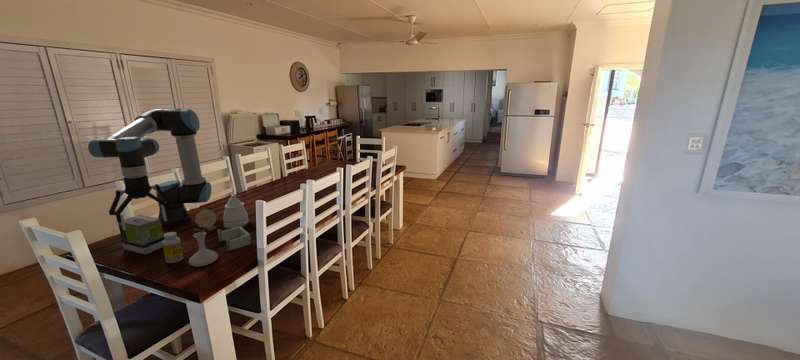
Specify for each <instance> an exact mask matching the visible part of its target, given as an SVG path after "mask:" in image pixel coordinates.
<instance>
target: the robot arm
mask: <svg viewBox="0 0 800 360" xmlns="http://www.w3.org/2000/svg"><path fill="white" fill-rule="evenodd" d="M199 130H200V119H199V117H198V115H197V114H196V112H195V111H194V110H192V109H190V108H189V109H188V108H156V109H151V110H148V111H146V112H143V113H141V114H139V115H137V116H136V117H135V118H134V121H132V122H131V123H129V124H127V125H126V126H124V127H122V128H120V129H119V130H117V131H115V132H114V133H112V134H111V135H109V136H107V137H105V138H102V139H101V138H97V139H91V140H90V141H89V142H88V145H87V149H88V151H89V154H90V155H91V156H92V157H94V158H104V159H106V158H109V159H110V158H118V159H119V164H120V169H121V173H122V174H121V175H122V176H123V177H124V178H123V182H124V186H125V187H124V188H125V189H121V190H120V189H116V190H115V197H114V198H113V201H112V203H111V206H110V208H109V210H108V213H109V215H110V216H115V219H116V222H117V224H118V223H122V227H123V230H126V227H125V223H124V216H123V213H122V212H123V211H125V209H126V207H127V206H128V205H129V203H130V202H131V201H132V200H133V199H135V200H138V199H141V198H142V199H144V198H145V199H146V198H147V197H149V198H150V199H153V200H154V201H155V202H157V203H158V210H159V211H158V212H159V213H158V217H157V218H159V219H160V220H161V225H162V226H173V225H178V224H183V223H185V222H187V221H189V220H190V218H191V217H190V213H189V211H188V210H187V208H186V206H185V204H200V203H201V204H202V203H206V202H208V201H209V200H210V198H211V195H212V184H211V183H210V182H209V181H207V179H206V178H205V177H203V175H202V170H201V169H202V168H201V164H200V160H199V154H198V149H197V143H196V139H195V137H196V135H197V134H198V131H199ZM155 132H170V135H171V136H172V137H174V139H175V142H176V146H177V152H178V156H179V160H180V165H181V170H182V174H183V178H184V179H183V180H182V181H180V180H177V179H175V180H169V181H164V182H161V183H159V184H158V183H155V184H154V185H150V181H149V176H148V175H147V174H148V173H147V168H146V163H145V158H148V157H152V156H154V155H155V154H157V153H158V152H159V150H160V145H159V142H158V141H157V140H156V139H154V138H153V137H145V136H146V135H148V134H153V133H155ZM152 190H154V191H155V194H156V195H154V194H152V193H151V191H152ZM124 194H126V195H127V196H126V197H125V199H124V201H123V202H122V203H121V204H120V205H119V201H120V199H121V197H122V196H123V195H124ZM118 205H119V206H118ZM117 206H118V208H117Z"/></svg>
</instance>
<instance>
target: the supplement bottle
mask: <svg viewBox="0 0 800 360" xmlns="http://www.w3.org/2000/svg"><path fill="white" fill-rule="evenodd" d="M163 235H164V240H163V242H162V245H163V247H162V248H163V254H164V259H165V262H166V263H167V264H174V263H178V262H180V261H181V260H183V259H184V253H183V248H182V241H181V238H180V237H179V236H178V234H177V232H176V231H170V232H166V233H163Z"/></svg>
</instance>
